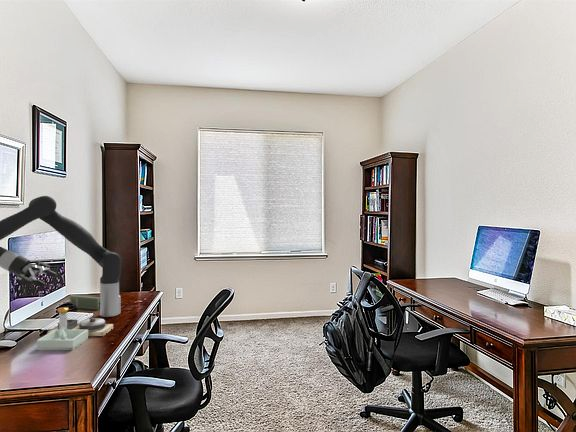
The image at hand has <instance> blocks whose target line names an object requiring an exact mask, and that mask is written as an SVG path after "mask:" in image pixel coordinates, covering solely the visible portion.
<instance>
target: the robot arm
mask: <svg viewBox="0 0 576 432" xmlns="http://www.w3.org/2000/svg"><path fill="white" fill-rule="evenodd" d="M56 209H57V201H56V200H55V199H54V197H52V196H48V195H42V196H38V197H35V198H33V199H31V200H30V202H29V203H28V206H27V207H26V208H24V209H22V210H20V211H19V212H16V213H14V214H12V215H10V216H8V217H6V218H3V219H1V220H0V241H2V240H4V239H5V238H6V237H9V236H11V235H12V234H13V233H15V232H16V231H18V230H19V229H22V228H23V227H24V226H26V225H28V224H30V223H31V222H34V221H36V220H38V219H40V220H41V221H43V222H44V223H46V224H48V225H49V226H50V227H52V229H54V230H55V231H56V232H57V233H59V234H60V235H61V236H63V238H64V239H66V240H67V241H68V242H70V243H71V244H72V245H73V246H75V247H76V248H78V249H80V250H81V251H83V252H84V253H86V255H88V256H90V257H91V258H92V259H93V261H95V262H96V264H98V265H99V266H100V267H101V268H102V275H101V276H100V278H99V297H100V309H99V316H100V317H103V318H110V317H115V316H118V315H120V314H121V313H122V312H121V308H122V307H121V305H122V298H121V295H120V278H121V274H122V258H121V256H120V255H119V254H118V253H117V252H113V251H110V250H108V249H106V248H105V247H103V246H102V245H101V244H99V242H98V241H96V239H95V237H94V236H93V235H92V234H91V232H90V231H88V230H87V229H86V228H85V227H84V226H82V225H81V224H80V223H78V222H76V221H74V220H72V219H69V218H68V217H65V216H63V215H62V214H61V213H59V212H58V211H57V210H56ZM0 268H2V269H4V270H6V271H8V272H10V273H11V274H14V275H16V280H17V281H18V282H21V283H22V284H24V285H26V286H28V287H31V285H35V286H37V287H39V288H45V286H46V282H44V281H42V280H41V279H37V278H36V276H38V275H42V274H45V275H47V276H48V277H51V278H53V279H55V278H56V277H57V276H58V273H57V272H55V271H53V270H51V265H49V264H47V263H45V262H42V261H40V260H36V262H35V263H32V262H31V260H30V259H28V258H26V257H24V256H22V255H20V254H19V253H15V252H14V251H11V250H8V249H7V248H5V247H2V246H0Z"/></svg>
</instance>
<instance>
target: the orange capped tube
mask: <svg viewBox="0 0 576 432" xmlns="http://www.w3.org/2000/svg"><path fill="white" fill-rule="evenodd" d="M68 311H69V307H67V306H63V307H58V308H57V313H59V314H58V316H59V317H58V319H59V320H58V323H59V328H60V340H67V320H68Z"/></svg>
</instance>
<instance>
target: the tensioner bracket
mask: <svg viewBox="0 0 576 432" xmlns="http://www.w3.org/2000/svg"><path fill="white" fill-rule="evenodd" d="M106 322H107V321H106V320H105V319H104V318H98V317H97V318H96V317H91V318H86V319H83V320H81V321H80V322H79V323H78V319H67V330H88V336H103V337H104V336H106V335H107V334H109V332H111V331H112V330H113V329H114V323H106ZM111 329H112V330H111ZM54 330H60V328H59V322H57V325H56V326H55V327H53V328H52V329H50V330H48V331H46V332H47V333H46V335H47V334H48V333H50V332H52V331H54ZM106 333H107V334H106Z"/></svg>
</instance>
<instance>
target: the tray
mask: <svg viewBox="0 0 576 432" xmlns="http://www.w3.org/2000/svg"><path fill="white" fill-rule="evenodd" d="M87 340H89V337H88V330H67V340H60V330H54V331H52V332H50V333H48V334H47V333H46V334H45V335H43V336H42V337H39V338H38V339H37V340H36V351H74V350H75V349H76V348H78V347H79V346H81V345H82V344H83V343H84V341H85V342H86V341H87ZM80 344H81V345H80Z"/></svg>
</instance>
